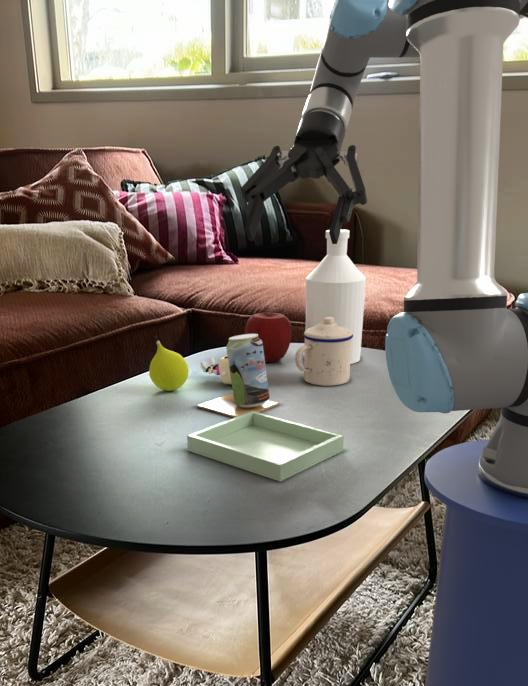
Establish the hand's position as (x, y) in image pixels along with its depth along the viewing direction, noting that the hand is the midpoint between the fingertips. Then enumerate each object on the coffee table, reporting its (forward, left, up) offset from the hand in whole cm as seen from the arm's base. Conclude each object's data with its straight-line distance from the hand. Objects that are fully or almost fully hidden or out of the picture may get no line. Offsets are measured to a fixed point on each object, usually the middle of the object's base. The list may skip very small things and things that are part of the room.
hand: (290, 236), depth 116 cm
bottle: (+14, -32, -28) cm, 45 cm away
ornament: (+24, +5, -28) cm, 37 cm away
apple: (+23, -22, -28) cm, 42 cm away
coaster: (+8, +4, -28) cm, 29 cm away
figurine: (+19, -6, -28) cm, 34 cm away
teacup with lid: (+6, -17, -28) cm, 33 cm away
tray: (-9, +17, -28) cm, 34 cm away
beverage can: (+6, +3, -27) cm, 28 cm away
